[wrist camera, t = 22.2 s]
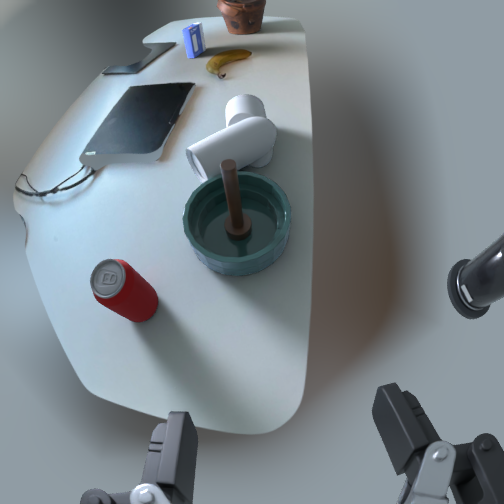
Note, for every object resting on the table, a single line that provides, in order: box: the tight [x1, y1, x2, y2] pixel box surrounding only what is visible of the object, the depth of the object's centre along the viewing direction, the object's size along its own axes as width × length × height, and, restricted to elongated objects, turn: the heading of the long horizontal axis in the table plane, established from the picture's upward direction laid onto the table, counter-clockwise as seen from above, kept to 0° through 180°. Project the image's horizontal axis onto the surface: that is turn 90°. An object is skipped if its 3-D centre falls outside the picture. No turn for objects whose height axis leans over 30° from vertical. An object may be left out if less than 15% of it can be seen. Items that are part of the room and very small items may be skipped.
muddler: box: [220, 159, 252, 241], centre depth 42 cm, size 4×4×16 cm
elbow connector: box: [186, 94, 277, 184], centre depth 53 cm, size 18×10×20 cm
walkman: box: [182, 22, 206, 58], centre depth 76 cm, size 8×3×12 cm, turn 155°
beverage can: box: [90, 259, 158, 322], centre depth 39 cm, size 7×7×12 cm
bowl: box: [183, 171, 291, 276], centre depth 47 cm, size 17×17×6 cm
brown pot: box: [217, 0, 266, 34], centre depth 82 cm, size 18×20×18 cm
